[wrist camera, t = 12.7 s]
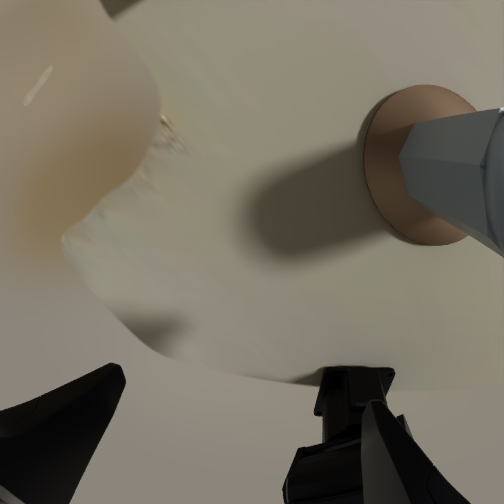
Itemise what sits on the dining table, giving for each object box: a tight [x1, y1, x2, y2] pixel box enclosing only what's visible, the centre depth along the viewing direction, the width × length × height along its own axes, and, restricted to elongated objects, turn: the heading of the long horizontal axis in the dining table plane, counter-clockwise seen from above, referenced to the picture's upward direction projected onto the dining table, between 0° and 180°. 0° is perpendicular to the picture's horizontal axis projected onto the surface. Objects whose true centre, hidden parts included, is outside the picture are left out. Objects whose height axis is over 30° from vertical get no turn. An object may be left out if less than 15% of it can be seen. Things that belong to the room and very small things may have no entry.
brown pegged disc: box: [364, 85, 477, 246], centre depth 14 cm, size 11×11×4 cm
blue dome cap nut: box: [398, 108, 504, 258], centre depth 10 cm, size 6×6×10 cm
